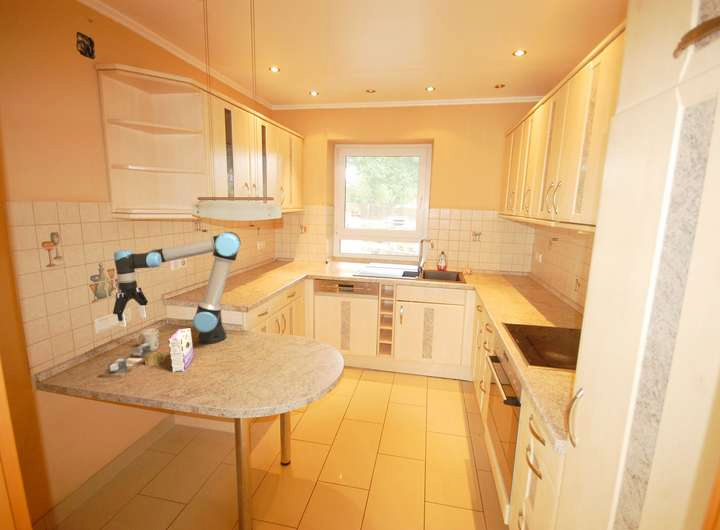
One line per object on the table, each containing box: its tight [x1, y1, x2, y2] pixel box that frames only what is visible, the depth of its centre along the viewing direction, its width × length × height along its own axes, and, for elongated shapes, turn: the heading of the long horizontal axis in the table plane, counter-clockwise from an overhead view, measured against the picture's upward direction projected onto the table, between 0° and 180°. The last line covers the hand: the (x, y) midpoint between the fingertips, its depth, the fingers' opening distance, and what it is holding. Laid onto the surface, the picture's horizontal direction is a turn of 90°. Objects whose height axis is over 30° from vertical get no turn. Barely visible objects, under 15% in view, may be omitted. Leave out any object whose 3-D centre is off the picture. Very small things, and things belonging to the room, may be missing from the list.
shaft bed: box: [97, 342, 159, 378], centre depth 167 cm, size 26×11×6 cm, turn 177°
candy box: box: [168, 327, 195, 373], centre depth 163 cm, size 14×6×16 cm, turn 9°
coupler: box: [144, 351, 165, 367], centre depth 167 cm, size 6×5×5 cm
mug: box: [136, 328, 160, 351], centre depth 185 cm, size 8×13×10 cm, turn 89°
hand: (133, 321), depth 172 cm, fingers open, 13 cm apart
